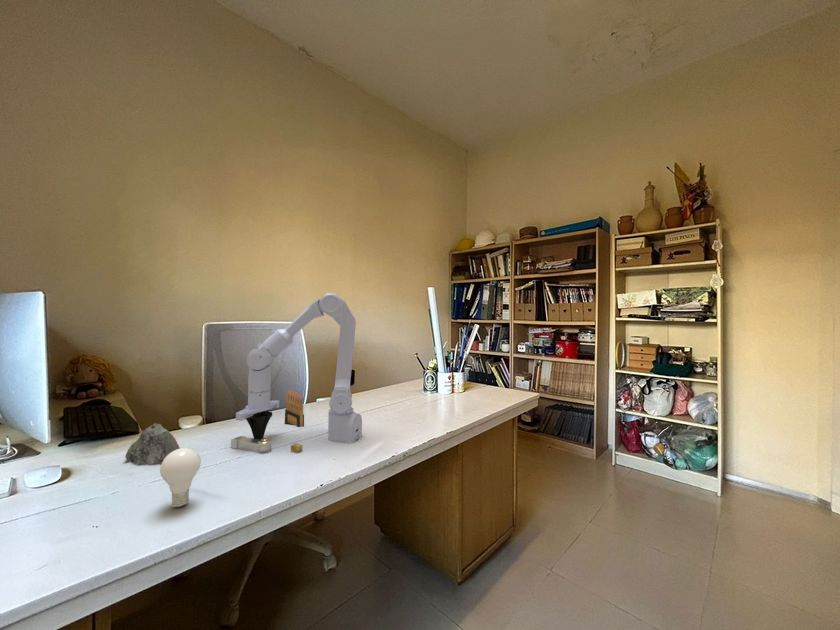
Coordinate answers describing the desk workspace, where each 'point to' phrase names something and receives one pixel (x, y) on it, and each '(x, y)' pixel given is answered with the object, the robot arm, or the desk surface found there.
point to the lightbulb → (180, 473)
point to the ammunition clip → (294, 409)
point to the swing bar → (251, 444)
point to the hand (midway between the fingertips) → (258, 438)
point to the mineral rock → (152, 446)
